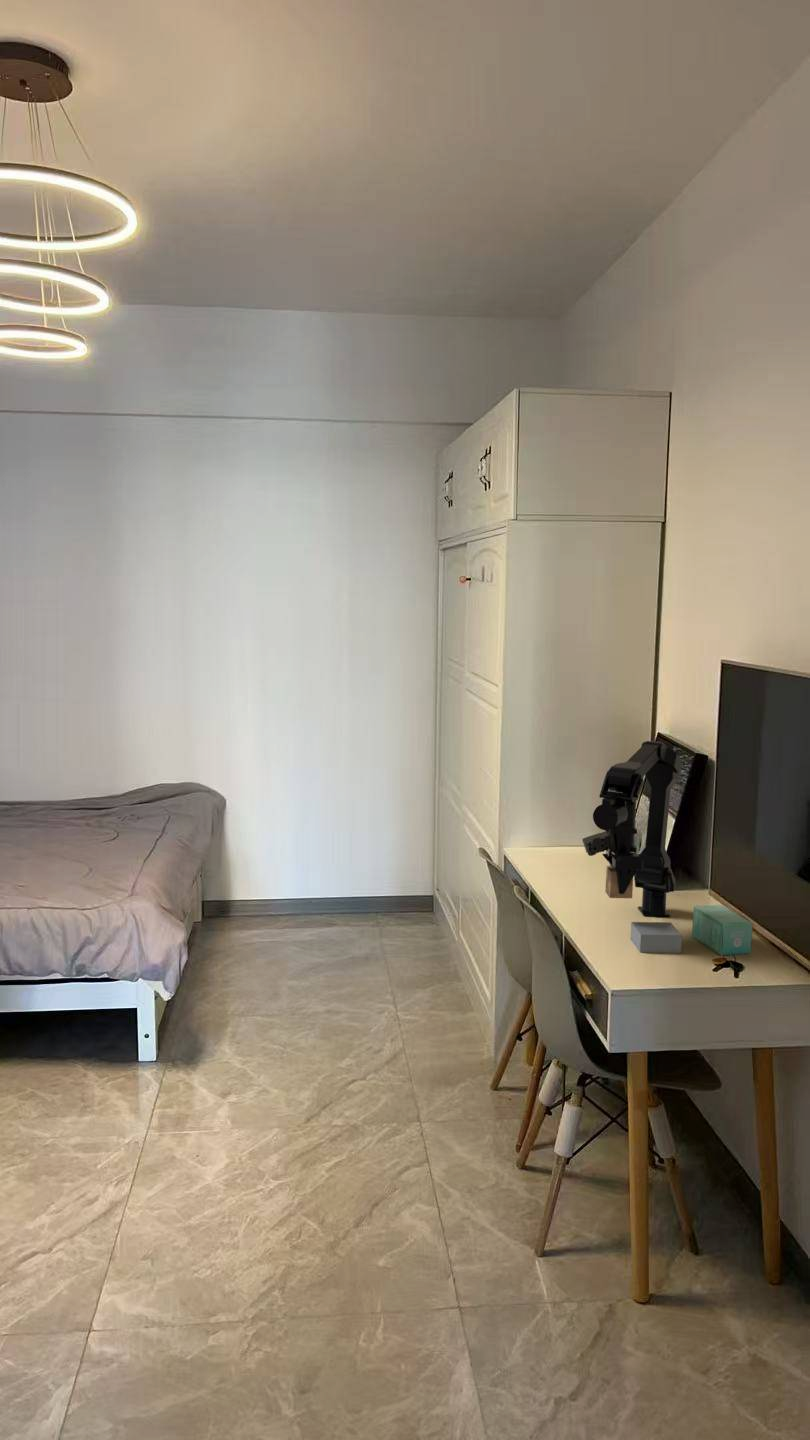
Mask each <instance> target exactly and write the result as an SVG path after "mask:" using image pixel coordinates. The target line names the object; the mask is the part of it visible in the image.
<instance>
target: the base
mask: <svg viewBox="0 0 810 1440" xmlns="http://www.w3.org/2000/svg"><path fill="white" fill-rule="evenodd" d="M629 939H630V940H631V942H632V943H633V945H634V946H635V947H636V949H637V950H638V952H639V953H651V954H652V953H655V954H656V953H659V954H660V953H663V954H664V953H665V954H668V953H669V954H671V953H672V954H678V953H679V954H681V953H682V945H683V943H682V941H683V934H681V932H680V931H679V930H678V928H676V926H675V925H674V924H673V923H672V922H671V921H670V922H668V921H667V922H665V921H664V922H662V921H660V922H659V921H657V922H655V921H653V922H652V921H650V922H649V921H631V922H630V937H629Z"/></svg>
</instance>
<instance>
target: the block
mask: <svg viewBox="0 0 810 1440" xmlns="http://www.w3.org/2000/svg"><path fill="white" fill-rule="evenodd" d="M633 886H634V877H633V878H632V880H631V882H630V884H629V886H628V888H627V889H626V891H625V893H624V894H619V889H618V881H617V873H616V870H615V869H614V868H613V867H612V866H610V865H606V869H605V891H604V892H605V893H606V894H607V896H608V897H609V899H633V889H634V887H633Z"/></svg>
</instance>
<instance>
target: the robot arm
mask: <svg viewBox="0 0 810 1440" xmlns="http://www.w3.org/2000/svg"><path fill="white" fill-rule="evenodd" d="M682 769H683V760H682V758H681V756H680V755H679V754H678V752H676V751H675V750H673V749H671V748H669V747H667V745H666V744H665V743H664V742H662V741H651V740H646V741H642V743H641V747H640V748H639V749H638V750H637V751H635V753H634V754H632V756H631V757H630V758H629V759H628V760H626V761H624V762H619V763H615V764H614V765H612V766H610V768H609V769H608V770H607V772H606V774H605V776H604V780H603V783H602V786H601V789H600V793H599V798H601V804H599V805H597V807H596V808H595V809H594V811H593V813H592V820H593V822H594V824H595V826H596V827H597V828H598V829H600V830H603V832H602V831H601V832H598V833H596V834H592V835H590V836H585V837H584V838H582V840H581V841H582V844H583V846H584V849H585V852H586V853H587V855H588V856H589V857H593V856H596V855H597V854H599V853H602V856H603V858H604V859H605V860H606V861H607V862H608V863H609V866H612V867H613V868H614V869H615V870H616V873H617V881H618V889H619V894H624V893H625V891H626V889H627V888H628V886H629V884H630V882H631V880H632V878H633V881H634V886H635V888H641V889H642V898H641V905H640V906H637V909H638V911H639V912H640V913H641V915H642V916H644V917H671V913H670V912H669V911H668V910H667V909H666V908H667V907H666V906H667V894H669V893H673V892H675V887H676V882H677V881H676V878H675V874H674V873H673V870H672V868H671V858H670V856H669V855H668V852H667V850H666V841H667V834H668V833H667V831H668V822H669V821H668V820H669V811H670V810H669V809H670V800H671V790H672V788H673V787H674V786H675V784H677V782H678V780H679V777H680V773H682ZM644 777H645V779H646V781H647V782H648V785H649V787H650V795H649V804H648V805H649V806H648V815H647V827H646V835H645V845H644V848H643V849H642V850H641V852H640V853H637V847H636V846H635V835H638V829H637V827H636V817H637V816H636V815H637V814H636V813H637V812H636V811H637V801H638V800H639V797H640V795H641V791H642V789H643V786H644V784H645V780H644ZM604 852H605V853H604Z"/></svg>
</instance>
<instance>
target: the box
mask: <svg viewBox="0 0 810 1440" xmlns="http://www.w3.org/2000/svg"><path fill="white" fill-rule="evenodd" d="M692 916H693V917H692V928H691V936H692V937H693V938H694V939H696V940H698V941H699V942H700V943H702V944H703V945H705V946H707V947H708V948H710V949H711V950H713V951H714V952H715V953H717V954H719V955H720V956H730V955H731V956H733V955H747V954H750V953H751V949H752V940H753V928H754V927H753V926H754V925H753V923H752V921H749V919H746V918H744V917H742V916H741V915H739V914H737V913H735V912H734V911H733V910H730V909H729V908H727V907H726V906H724V905H721V904H720V905H719V904H717V905H716V904H715V905H694V906H693V913H692Z"/></svg>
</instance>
